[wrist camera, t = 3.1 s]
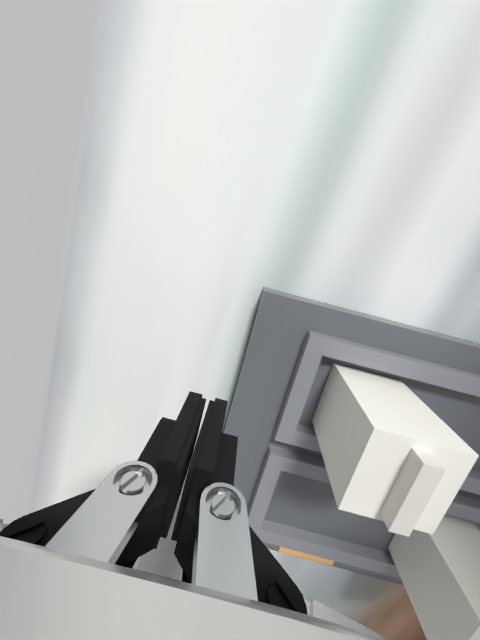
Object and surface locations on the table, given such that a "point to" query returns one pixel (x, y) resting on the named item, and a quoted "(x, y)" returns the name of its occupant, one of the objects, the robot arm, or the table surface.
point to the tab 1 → (388, 451)
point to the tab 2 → (442, 577)
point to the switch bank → (299, 434)
